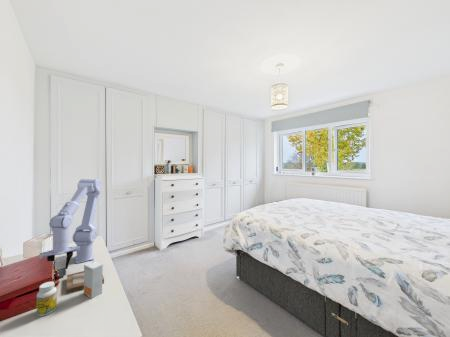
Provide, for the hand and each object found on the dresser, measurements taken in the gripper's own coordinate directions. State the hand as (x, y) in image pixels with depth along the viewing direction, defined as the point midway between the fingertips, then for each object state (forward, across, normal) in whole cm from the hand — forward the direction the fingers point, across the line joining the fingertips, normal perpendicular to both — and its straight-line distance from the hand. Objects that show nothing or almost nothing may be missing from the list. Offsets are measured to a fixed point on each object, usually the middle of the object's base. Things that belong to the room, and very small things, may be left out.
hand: (60, 269), depth 94 cm
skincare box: (+3, +11, -24) cm, 27 cm away
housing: (+2, 0, 0) cm, 2 cm away
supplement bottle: (+3, -3, -26) cm, 26 cm away
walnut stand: (+3, +9, -12) cm, 15 cm away
